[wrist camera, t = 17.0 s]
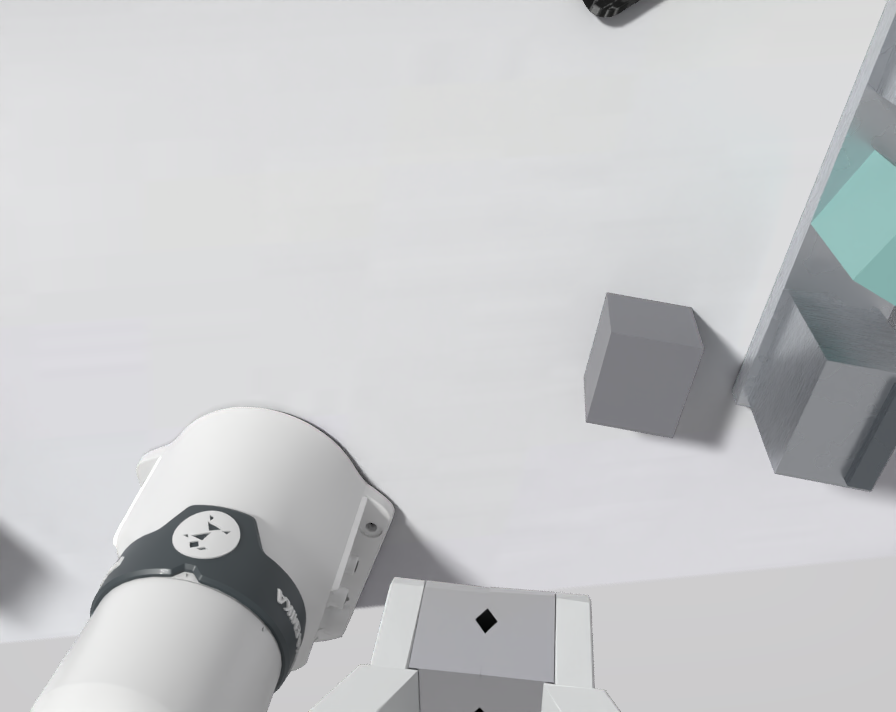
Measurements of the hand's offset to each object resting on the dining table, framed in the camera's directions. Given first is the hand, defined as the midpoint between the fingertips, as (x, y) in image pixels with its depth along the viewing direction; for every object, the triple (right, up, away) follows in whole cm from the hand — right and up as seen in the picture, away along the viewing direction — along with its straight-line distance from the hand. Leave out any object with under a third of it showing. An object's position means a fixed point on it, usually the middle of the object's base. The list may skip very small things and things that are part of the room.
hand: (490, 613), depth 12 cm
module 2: (+21, +11, +28) cm, 37 cm away
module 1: (+11, +5, +36) cm, 38 cm away
